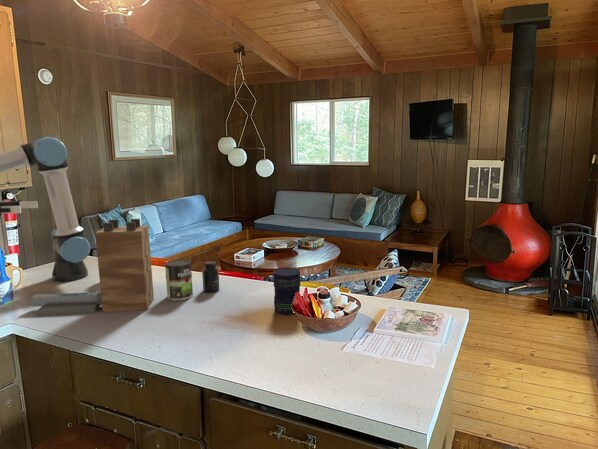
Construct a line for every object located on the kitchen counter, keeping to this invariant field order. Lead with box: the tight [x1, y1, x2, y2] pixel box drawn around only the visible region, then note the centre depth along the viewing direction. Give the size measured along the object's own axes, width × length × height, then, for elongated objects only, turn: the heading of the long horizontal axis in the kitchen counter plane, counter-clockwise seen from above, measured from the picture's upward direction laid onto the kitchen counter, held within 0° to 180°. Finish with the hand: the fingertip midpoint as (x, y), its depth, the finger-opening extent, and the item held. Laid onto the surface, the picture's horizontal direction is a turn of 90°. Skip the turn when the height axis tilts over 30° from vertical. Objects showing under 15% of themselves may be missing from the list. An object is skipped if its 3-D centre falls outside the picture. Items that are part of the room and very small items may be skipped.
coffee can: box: [164, 259, 194, 301], centre depth 185 cm, size 10×10×14 cm
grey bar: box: [30, 289, 102, 308], centre depth 174 cm, size 5×26×4 cm, turn 94°
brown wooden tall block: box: [94, 218, 155, 313], centre depth 174 cm, size 12×16×33 cm
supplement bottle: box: [201, 260, 220, 293], centre depth 193 cm, size 7×7×12 cm
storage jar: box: [272, 267, 301, 317], centre depth 168 cm, size 10×10×15 cm
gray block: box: [36, 304, 102, 316], centre depth 175 cm, size 12×20×2 cm, turn 96°
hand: (29, 206), depth 176 cm, fingers open, 13 cm apart
